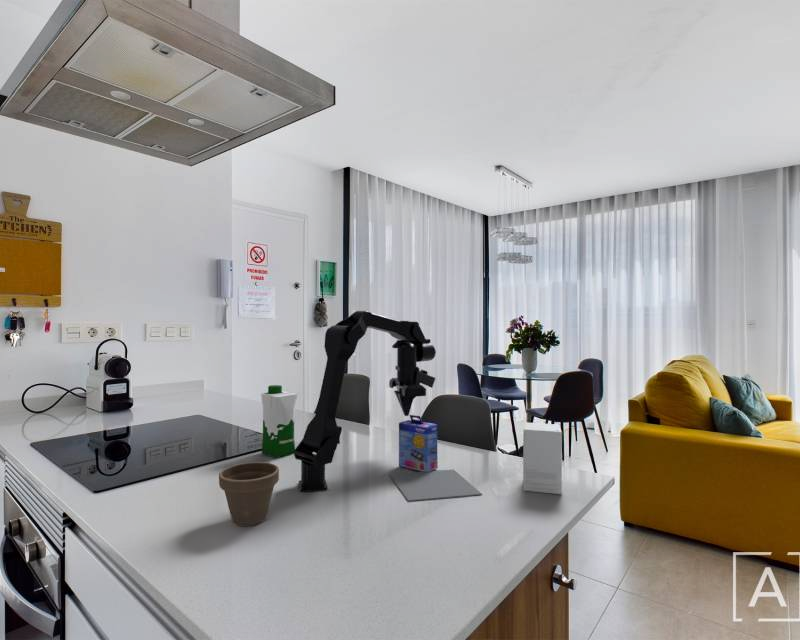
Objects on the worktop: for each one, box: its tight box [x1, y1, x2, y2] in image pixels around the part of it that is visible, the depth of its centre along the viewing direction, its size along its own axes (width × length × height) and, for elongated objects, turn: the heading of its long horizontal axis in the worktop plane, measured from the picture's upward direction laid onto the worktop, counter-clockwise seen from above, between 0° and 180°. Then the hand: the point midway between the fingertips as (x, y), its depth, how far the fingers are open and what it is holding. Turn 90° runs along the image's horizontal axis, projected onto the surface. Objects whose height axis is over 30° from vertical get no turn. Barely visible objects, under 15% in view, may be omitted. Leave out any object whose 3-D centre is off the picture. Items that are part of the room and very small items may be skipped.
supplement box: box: [522, 421, 563, 495], centre depth 115 cm, size 9×9×15 cm
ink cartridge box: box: [398, 414, 439, 472], centre depth 128 cm, size 10×6×14 cm, turn 53°
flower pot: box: [218, 461, 280, 527], centre depth 94 cm, size 12×11×10 cm
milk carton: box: [260, 384, 298, 459], centre depth 140 cm, size 9×9×20 cm
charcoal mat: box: [389, 469, 483, 503], centre depth 115 cm, size 18×18×1 cm
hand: (406, 415), depth 138 cm, fingers closed
